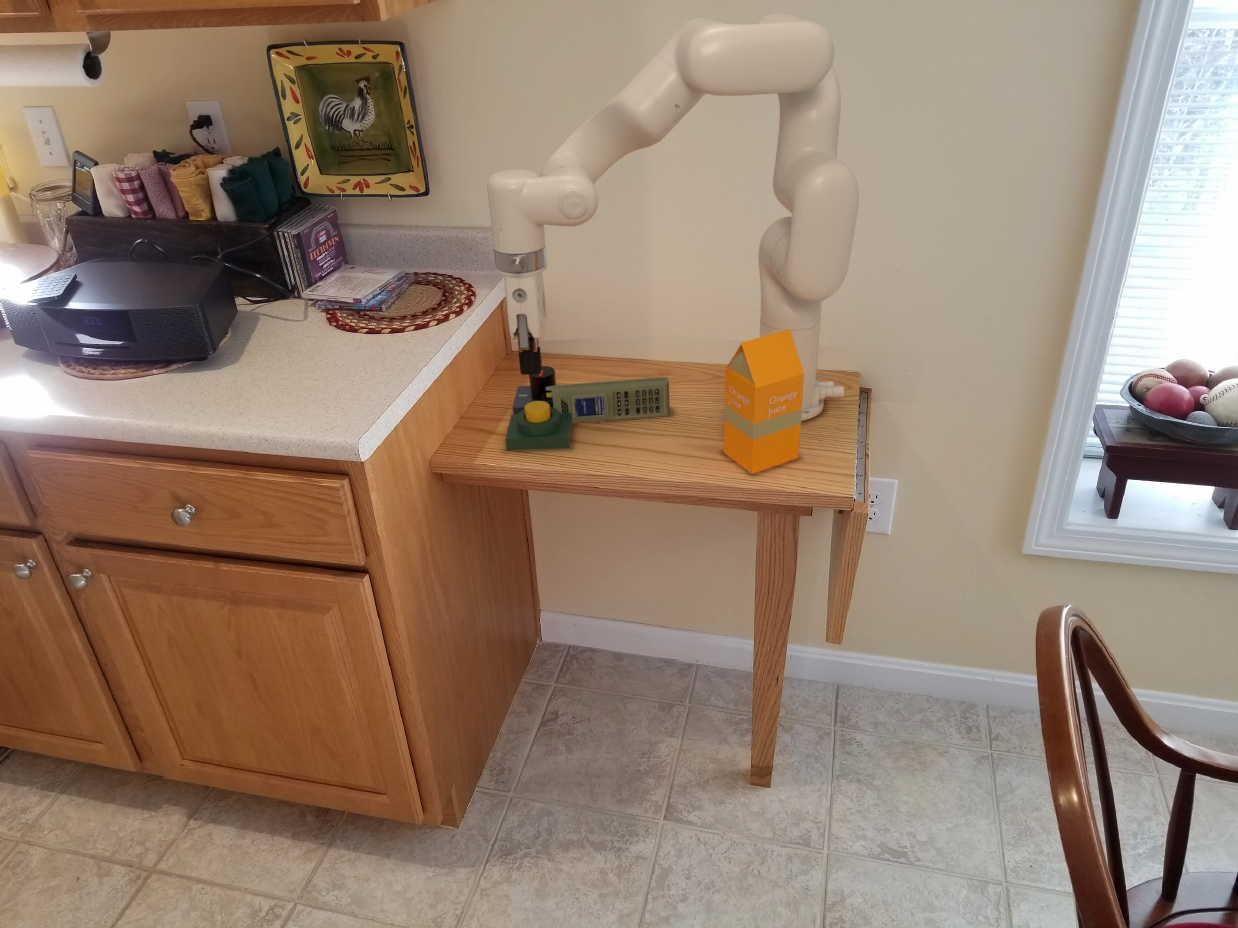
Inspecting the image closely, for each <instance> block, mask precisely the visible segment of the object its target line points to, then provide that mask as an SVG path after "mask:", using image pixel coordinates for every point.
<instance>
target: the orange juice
mask: <svg viewBox="0 0 1238 928" xmlns="http://www.w3.org/2000/svg"><path fill="white" fill-rule="evenodd" d="M724 372H725V373H724V404H723V421H724V423H723V432H724V433H723V453H724V454H725V455H726V456H727V457H729V458H730V459H731V460H733V461H734V462H735V463H737V464H738V465H740V466H741V467H742V468H743V469H744V470H746V471H747V472H748V473H750V474H751V475H754V474H757V473H759V472H762V471H766V470H767V469H771V468H773V467H776V466H779V465H782V464H786V463H788V462H791V461H794V460H796V459H799V457H800V456H799V455H800V440H801V439H800V438H801V425H802V421H801V418H802V397H803V382H804V371H803V368H802V365H801V362H800V359H799V356H798V353H797V350H796V346H795V343H794V340H793V337H792V334H791V331H790V329H787V330H784V331H780V332H777V333H773V334H770V335H766V336H762V337H760V336H759V337H755V338H752V339H749V340H748V339H747V340H745V341H741V342H740V345H739V347H738V348H737V350H736V351H735V353H734V354H733V356H732V358H731V360H730V361H729V363H728V364H727V365H726V367H725V368H724Z"/></svg>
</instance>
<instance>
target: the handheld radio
mask: <svg viewBox="0 0 1238 928" xmlns="http://www.w3.org/2000/svg"><path fill="white" fill-rule="evenodd" d="M566 384H567V383H566ZM546 390H549V391H552V392H551V393H549V392H547V393H546V396H547V398H549V397H550V398H553V401H551V402H547V403H548V404H549V405H550V407H553V408H555V409H556V410H558V411H559V412H560V413H571V416H572V424H576V423H577V424H579V423H591V422H602V421H614V420H615V421H616V420H627V419H638V418H649V417H650V418H652V417H653V418H654V417H667V416H670V380H669V377H668V376H660V377H659V376H657V377H645V378H634V379H633V378H632V379H621V380H619V379H618V380H607V381H595V382H594V381H593V382H582V383H581V382H579V383H568V384H567V385H564V384H556V385H554V386H549V387H546ZM551 404H552V405H551Z"/></svg>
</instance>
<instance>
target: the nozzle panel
mask: <svg viewBox="0 0 1238 928" xmlns="http://www.w3.org/2000/svg"><path fill="white" fill-rule="evenodd" d="M563 385H567V383H566V384H563ZM534 401H538V400H534V399H533V398H532V397H531V389H530V385H518V386H517V387H516V393H515V396H514V401H513V405H512V415H517V414H518V413H519V412H521V411H522V410H523V409H525V406H526V405H527V404H528V403H530V402H534ZM551 401H553V399H551V400H547V401H544V402H551ZM551 405H552V404H551Z"/></svg>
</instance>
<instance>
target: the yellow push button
mask: <svg viewBox="0 0 1238 928" xmlns="http://www.w3.org/2000/svg"><path fill="white" fill-rule="evenodd" d="M525 415H526V420H527V421H528V422H532V423H536V422H544V421H547V420H549V419H550V417H551V415H550V405H549V404H548V403H547V402H544V401H534V402H530V403H528V404H527V405H526V406H525Z"/></svg>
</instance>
